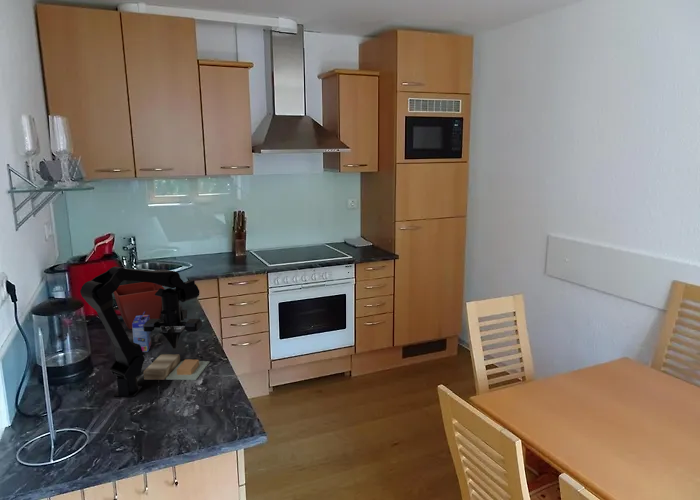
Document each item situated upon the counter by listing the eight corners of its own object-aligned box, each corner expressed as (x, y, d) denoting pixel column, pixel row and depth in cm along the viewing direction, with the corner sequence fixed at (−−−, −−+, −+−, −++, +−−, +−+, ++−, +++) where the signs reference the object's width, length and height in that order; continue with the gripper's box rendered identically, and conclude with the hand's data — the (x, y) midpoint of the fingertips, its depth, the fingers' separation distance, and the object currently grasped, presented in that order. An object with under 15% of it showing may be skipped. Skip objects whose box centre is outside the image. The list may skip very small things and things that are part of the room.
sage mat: (196, 379, 166) (196, 378, 166) (165, 379, 166) (165, 378, 166) (209, 362, 180) (209, 361, 179) (181, 362, 180) (181, 361, 180)
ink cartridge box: (149, 351, 190) (145, 316, 187) (134, 353, 189) (130, 317, 186) (152, 342, 199) (149, 308, 196) (137, 344, 198) (134, 309, 195)
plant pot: (159, 313, 235) (156, 279, 231) (168, 324, 219) (165, 288, 216) (116, 321, 225) (111, 286, 221) (122, 334, 209) (118, 296, 206)
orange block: (176, 369, 169) (177, 374, 169) (190, 369, 168) (191, 374, 169) (185, 359, 177) (185, 364, 177) (198, 359, 176) (199, 364, 177)
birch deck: (164, 379, 166) (163, 371, 166) (144, 379, 167) (143, 371, 166) (180, 362, 180) (179, 354, 180) (161, 361, 180) (161, 354, 180)
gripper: (205, 298, 176) (208, 339, 179) (154, 298, 177) (159, 339, 180) (194, 308, 165) (198, 351, 168) (140, 308, 166) (145, 351, 169)
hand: (175, 348), depth 172 cm, fingers closed
